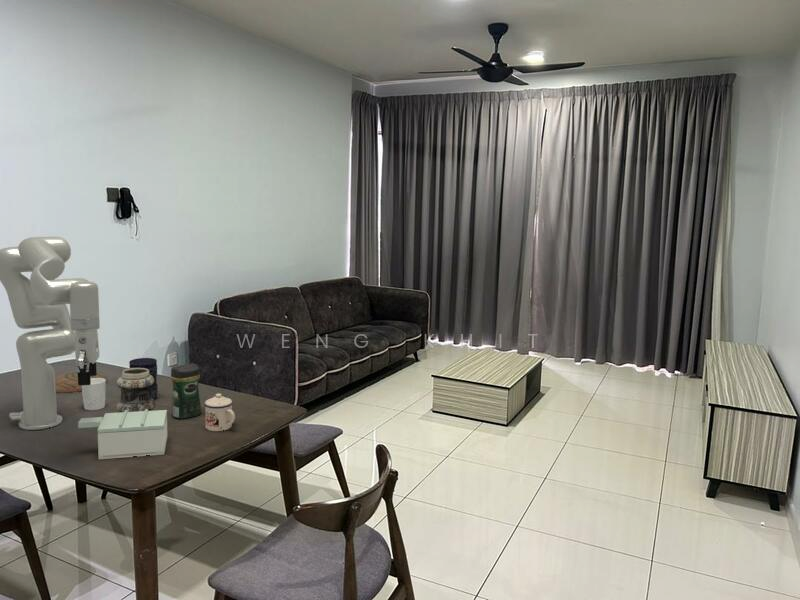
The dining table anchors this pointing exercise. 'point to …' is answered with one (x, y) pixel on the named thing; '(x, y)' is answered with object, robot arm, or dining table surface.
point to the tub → (132, 443)
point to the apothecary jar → (135, 390)
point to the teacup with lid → (218, 413)
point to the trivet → (71, 382)
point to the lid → (126, 421)
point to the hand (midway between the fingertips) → (87, 380)
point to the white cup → (94, 394)
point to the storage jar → (152, 367)
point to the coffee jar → (185, 391)
